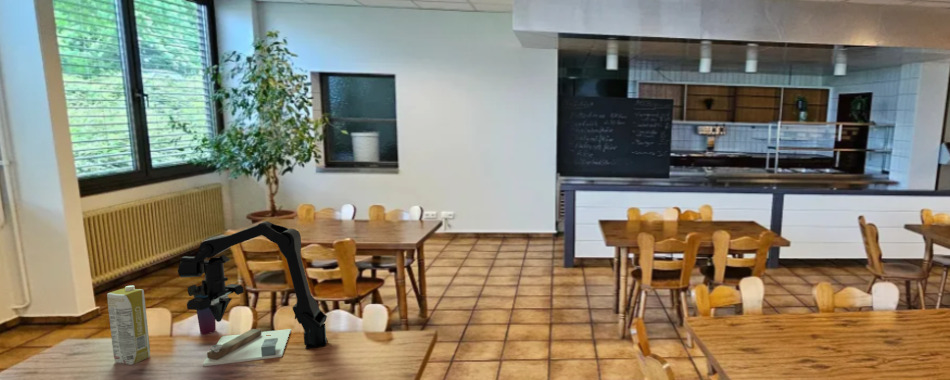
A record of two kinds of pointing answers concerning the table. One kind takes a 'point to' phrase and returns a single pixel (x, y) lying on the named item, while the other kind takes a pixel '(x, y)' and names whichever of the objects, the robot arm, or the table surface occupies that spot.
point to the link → (234, 343)
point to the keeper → (269, 347)
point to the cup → (206, 320)
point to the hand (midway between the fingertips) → (218, 321)
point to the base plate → (249, 348)
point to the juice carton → (128, 325)
